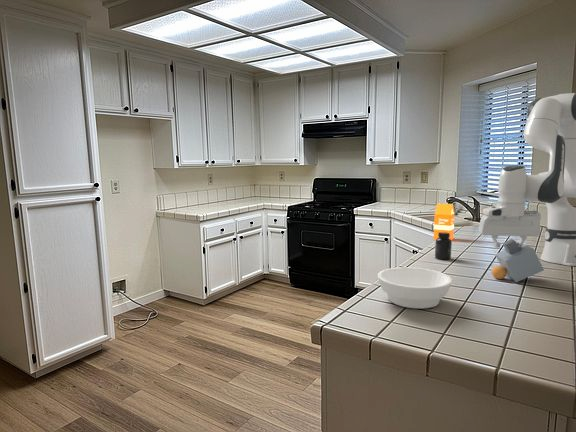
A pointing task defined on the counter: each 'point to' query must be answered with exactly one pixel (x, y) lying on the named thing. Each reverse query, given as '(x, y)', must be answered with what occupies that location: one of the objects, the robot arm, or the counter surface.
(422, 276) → the bowl
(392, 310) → the counter surface
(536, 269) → the grey block with knob
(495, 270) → the ball
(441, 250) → the supplement bottle
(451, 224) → the orange juice
